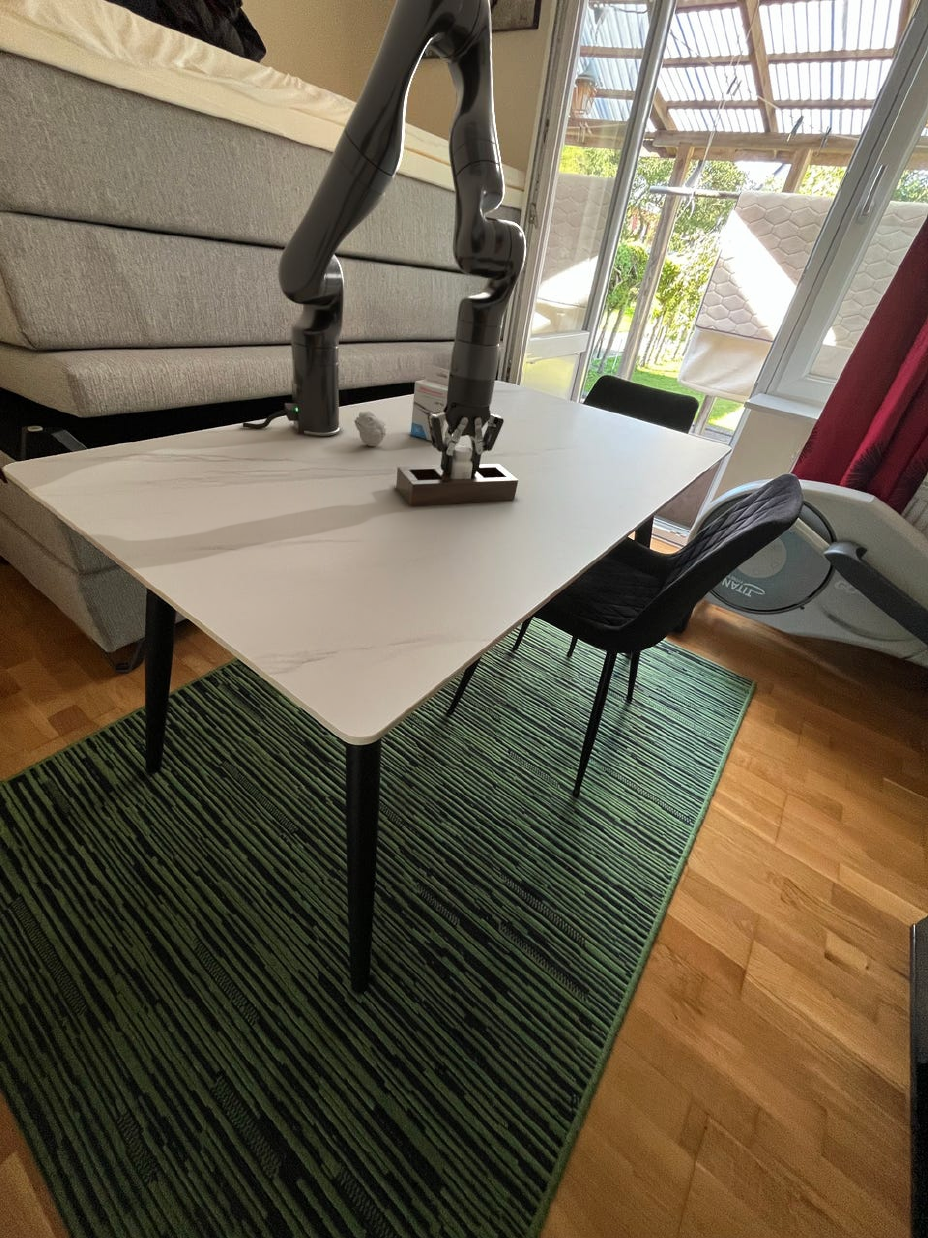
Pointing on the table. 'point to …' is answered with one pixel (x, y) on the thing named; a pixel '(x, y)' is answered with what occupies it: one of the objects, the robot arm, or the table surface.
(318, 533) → the table surface
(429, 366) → the ink box
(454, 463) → the pill bottle
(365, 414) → the white lumpy lump
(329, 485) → the table surface
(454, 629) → the table surface
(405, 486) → the holder
